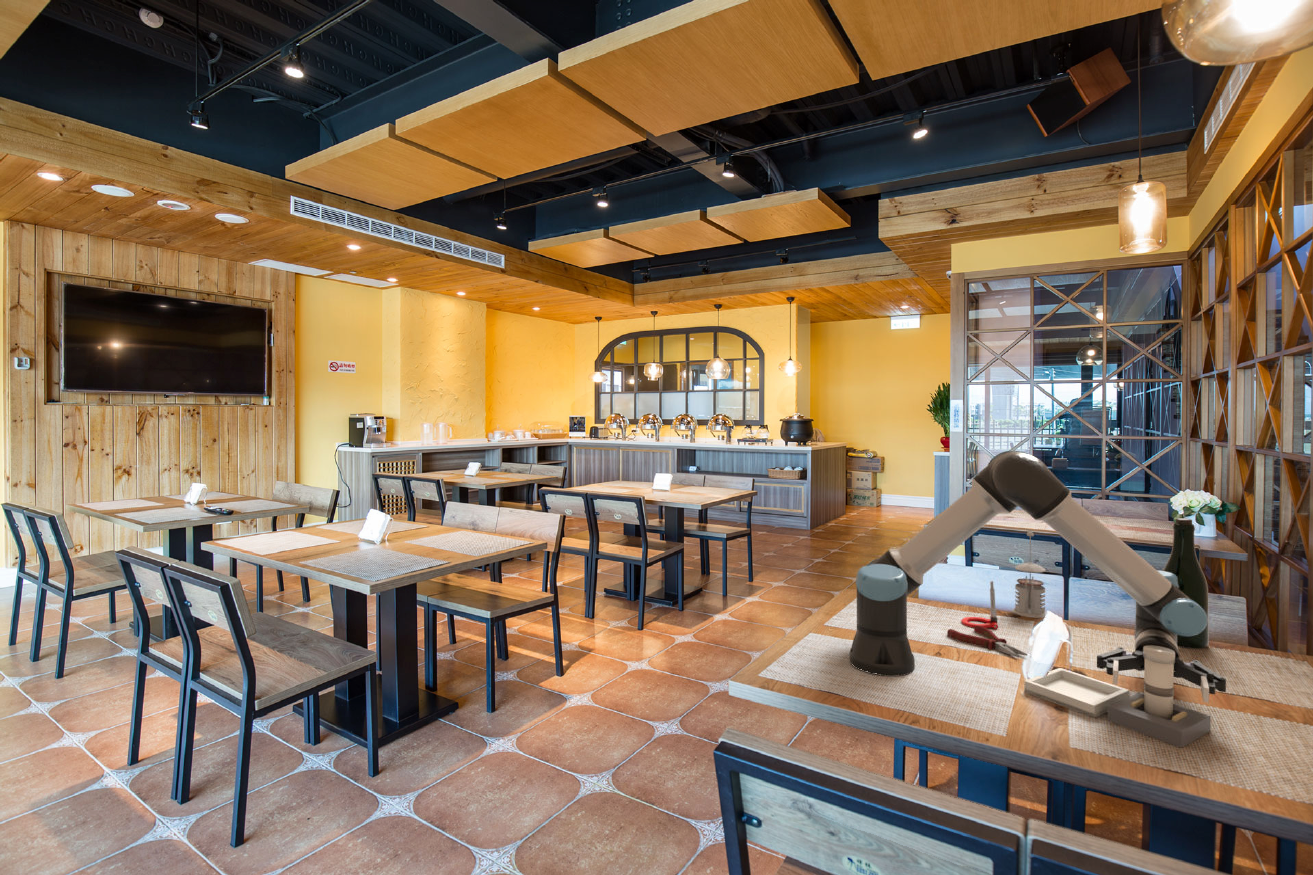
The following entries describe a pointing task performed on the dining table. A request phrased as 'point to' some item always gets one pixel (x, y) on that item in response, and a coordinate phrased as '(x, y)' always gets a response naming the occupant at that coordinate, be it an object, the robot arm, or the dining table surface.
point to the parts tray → (1075, 691)
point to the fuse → (1158, 681)
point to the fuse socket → (1160, 721)
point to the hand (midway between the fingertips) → (1159, 686)
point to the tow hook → (989, 622)
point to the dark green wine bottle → (1189, 577)
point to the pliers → (986, 640)
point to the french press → (1030, 591)
